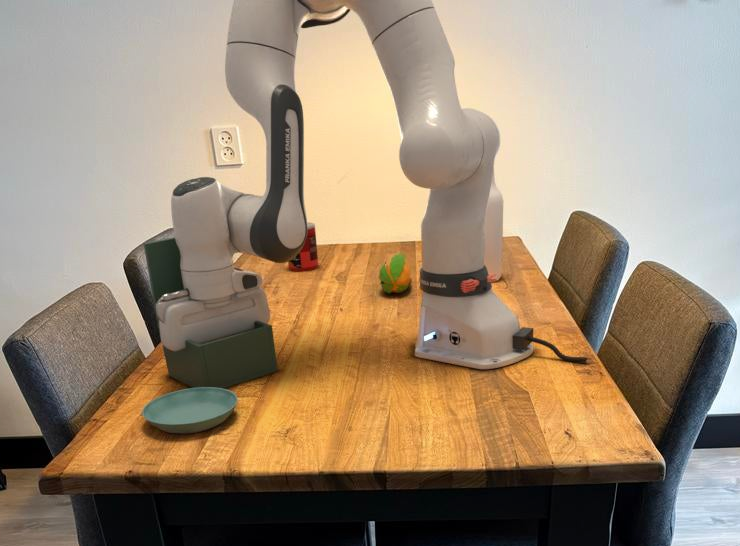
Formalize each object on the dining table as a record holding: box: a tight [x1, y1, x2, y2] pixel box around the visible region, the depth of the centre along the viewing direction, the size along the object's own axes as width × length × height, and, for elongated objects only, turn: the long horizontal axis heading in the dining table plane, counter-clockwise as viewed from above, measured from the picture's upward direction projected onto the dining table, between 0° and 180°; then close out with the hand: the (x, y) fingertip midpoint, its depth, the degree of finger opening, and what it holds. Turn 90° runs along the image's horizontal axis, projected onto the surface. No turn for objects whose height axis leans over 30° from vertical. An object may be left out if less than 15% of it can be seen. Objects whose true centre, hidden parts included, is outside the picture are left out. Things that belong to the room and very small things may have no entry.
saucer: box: [141, 387, 239, 435], centre depth 121 cm, size 15×15×3 cm
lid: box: [143, 236, 184, 329], centre depth 137 cm, size 14×15×5 cm
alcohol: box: [484, 167, 504, 283], centre depth 179 cm, size 9×9×30 cm
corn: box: [378, 253, 412, 295], centre depth 183 cm, size 7×8×20 cm
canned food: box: [287, 221, 319, 272], centre depth 206 cm, size 8×8×11 cm
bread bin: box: [162, 321, 278, 389], centre depth 138 cm, size 14×15×8 cm
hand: (222, 361), depth 138 cm, fingers closed on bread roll, 5 cm apart
